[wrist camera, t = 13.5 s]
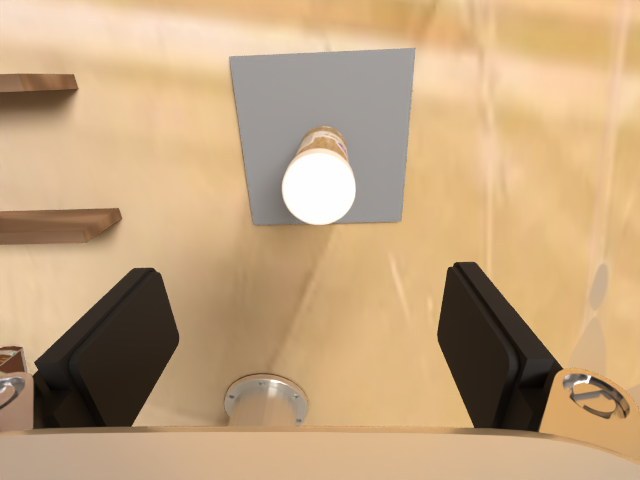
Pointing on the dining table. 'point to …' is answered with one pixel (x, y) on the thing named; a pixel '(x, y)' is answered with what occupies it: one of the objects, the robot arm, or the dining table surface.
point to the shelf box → (50, 222)
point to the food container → (12, 360)
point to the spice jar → (319, 178)
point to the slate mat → (326, 124)
